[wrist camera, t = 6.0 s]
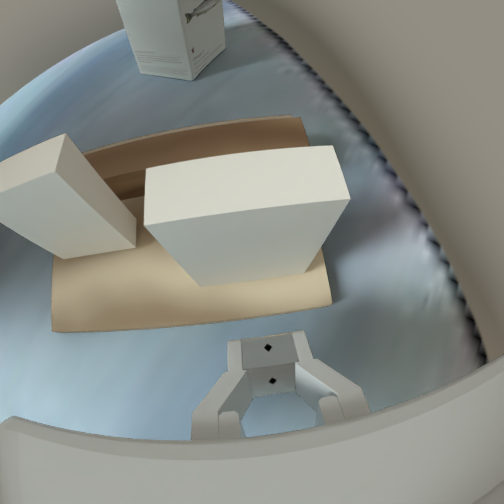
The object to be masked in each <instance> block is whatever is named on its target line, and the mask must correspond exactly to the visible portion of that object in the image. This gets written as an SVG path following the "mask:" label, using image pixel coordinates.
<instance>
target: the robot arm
mask: <svg viewBox="0 0 504 504" xmlns="http://www.w3.org/2000/svg"><path fill="white" fill-rule="evenodd" d="M227 349H228V372H224V373H223V375H222V376H221V377H220V378H219V380H218V381H217V382H216V384H215V385H214V386H213V387H212V389H211V390H210V391H209V393H208V394H207V395H206V396H205V398H204V399H203V400H202V401H201V403H200V404H199V405H198V406H197V408H196V409H195V410H194V411H193V413H192V429H191V440H190V441H177V440H148V439H133V438H122V437H113V436H105V435H98V434H91V433H85V432H79V431H74V430H69V429H64V428H59V427H55V426H50V425H46V424H42V423H38V422H35V421H31V420H28V419H24V418H21V417H17V416H12V417H9V418H8V419H6V420H5V421H3V422H2V423H1V424H0V504H504V354H502V355H501V356H499V357H497V358H496V359H494V360H492V361H491V362H489V363H487V364H485V365H483V366H482V367H480V368H478V369H476V370H474V371H472V372H470V373H468V374H466V375H464V376H462V377H460V378H458V379H456V380H454V381H452V382H450V383H448V384H446V385H443V386H441V387H439V388H437V389H434V390H432V391H430V392H427V393H425V394H422V395H420V396H417V397H415V398H412V399H409V400H407V401H404V402H401V403H399V404H396V405H393V406H390V407H387V408H384V409H381V410H378V411H375V412H371V411H370V408H369V406H368V403H367V401H366V398H365V396H364V394H363V391H362V389H361V387H359V386H358V385H356V384H355V383H353V382H352V381H350V380H349V379H347V378H346V377H344V376H343V375H341V374H340V373H338V372H337V371H335V370H334V369H332V368H331V367H329V366H328V365H326V364H325V363H323V362H322V361H320V360H319V359H314V358H313V355H312V352H311V349H310V346H309V343H308V340H307V337H306V334H305V331H304V330H300V331H294V332H291V333H290V332H289V333H283V334H277V335H270V336H264V337H256V338H246V339H239V340H228V343H227ZM293 391H295V392H296V393H297V394H298V395H299V396H300V397H301V398H302V399H303V400H304V401H305V402H306V403H307V404H309V405H310V406H311V407H312V408H313V409H314V410H315V411H316V412H317V417H316V424H315V427H312V428H307V429H302V430H296V431H291V432H284V433H278V434H271V435H263V436H255V437H246V436H245V433H244V430H243V426H242V423H241V419H242V418H243V416H244V414H245V412H246V410H247V409H248V407H249V405H250V403H251V401H252V399H253V397H259V396H266V395H272V394H279V393H287V392H293Z"/></svg>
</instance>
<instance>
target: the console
mask: <svg viewBox="0 0 504 504" xmlns="http://www.w3.org/2000/svg"><path fill="white" fill-rule="evenodd" d="M296 147H310V145H309V142H308V138H307V135H306V132H305V129H304V126H303V123H302V120H301V117H299V118H293V117H292V115H279V116H266V117H255V118H246V119H237V120H229V121H221V122H214V123H207V124H201V125H195V126H189V127H184V128H178V129H173V130H168V131H163V132H158V133H154V134H149V135H145V136H141V137H136V138H132V139H128V140H124V141H121V142H117V143H113V144H110V145H106V146H103V147H99V148H96V149H92V150H89V151H86V152H83V153H82V154H83V156H84V157H85V158H86V159H87V161H88V162H89V163H90V164H91V166H92V167H93V168H94V169H95V171H96V172H97V173H98V174H99V176H100V177H101V178H102V179H103V180H104V182H105V183H106V184H107V185H108V186H109V188H110V189H111V190H112V191H113V192H114V194H115V195H116V196H117V197H118V198H119V199H120V201H121V202H122V203H123V204H124V205H125V206H126V208H127V209H128V210H129V211H130V212H131V213H132V215H133V216H134V217H135V218H136V219H137V222H136V248H131V249H125V250H118V251H112V252H106V253H99V254H93V255H87V256H81V257H75V258H69V259H62V258H60V257H58V256H56V255H55V254H54V256H53V271H52V299H51V313H52V332H59V333H81V332H109V331H129V330H145V329H158V328H171V327H182V326H193V325H202V324H212V323H221V322H229V321H237V320H245V319H252V318H260V317H267V316H274V315H280V314H287V313H293V312H299V311H306V310H311V309H317V308H323V307H328V306H330V305H332V304H333V303H332V298H331V292H330V287H329V282H328V277H327V272H326V267H325V262H324V257H323V252H322V248H320V249H319V251H318V252H317V254H316V256H315V257H314V259H313V260H312V262H311V263H310V265H309V266H308V268H307V269H306V271H305V273H303V274H296V275H289V276H282V277H275V278H268V279H261V280H254V281H246V282H239V283H231V284H223V285H215V286H207V287H200V286H199V285H198V284H197V283H196V282H195V281H194V280H193V279H192V278H191V277H190V276H189V274H188V273H187V272H186V271H185V270H184V269H183V268H182V267H181V266H180V265H179V264H178V263H177V262H176V261H175V260H174V258H173V257H172V256H171V255H170V254H169V253H168V252H167V251H166V250H165V249H164V247H163V246H162V245H161V244H160V243H159V242H158V241H157V240H156V239H155V237H154V236H153V235H152V234H151V233H150V232H149V231H148V230H147V228H146V227H145V226H144V201H145V179H146V169H147V168H151V167H156V166H161V165H166V164H172V163H177V162H183V161H189V160H195V159H201V158H207V157H214V156H221V155H228V154H236V153H244V152H253V151H262V150H272V149H283V148H296Z"/></svg>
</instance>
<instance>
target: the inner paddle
mask: <svg viewBox="0 0 504 504" xmlns="http://www.w3.org/2000/svg"><path fill="white" fill-rule="evenodd" d="M136 222H137V219H136V218H135V217H134V216H133V215H132V213H131V212H130V211H129V210H128V209H127V208H126V206H125V205H124V204H123V203H122V202H121V201H120V199H119V198H118V197H117V196H116V195H115V194H114V192H113V191H112V190H111V189H110V188H109V186H108V185H107V184H106V183H105V182H104V180H103V179H102V178H101V177H100V176H99V174H98V173H97V172H96V171H95V169H94V168H93V167H92V166H91V164H90V163H89V162H88V161H87V159H86V158H85V157H84V156H83V154H82V153H81V152H80V151H79V149H78V148H77V147H76V145H75V144H74V143H73V142H72V140H71V139H70V138H69V136H68V135H67V134H66V133H65V134H62V135H59V136H57V137H54V138H52V139H49V140H47V141H45V142H42V143H40V144H38V145H35V146H33V147H31V148H29V149H27V150H24V151H22V152H20V153H18V154H16V155H14V156H12V157H10V158H8V159H6V160H4V161H2V162H0V223H2V224H4V225H5V226H7V227H8V228H10V229H12V230H13V231H15V232H16V233H18V234H20V235H21V236H23V237H25V238H26V239H28V240H30V241H32V242H33V243H35V244H37V245H38V246H40V247H42V248H44V249H46V250H47V251H49V252H51V253H53V254H55V255H56V256H58V257H60V258H62V259H69V258H75V257H81V256H87V255H93V254H99V253H106V252H112V251H118V250H125V249H131V248H136Z"/></svg>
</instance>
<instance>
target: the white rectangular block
mask: <svg viewBox="0 0 504 504" xmlns="http://www.w3.org/2000/svg"><path fill="white" fill-rule="evenodd" d="M350 199H351V198H350V195H349V192H348V189H347V186H346V183H345V179H344V176H343V173H342V170H341V167H340V164H339V162H338V159H337V156H336V153H335V150H334V147H333V145H330V146H311V147H296V148H283V149H272V150H262V151H253V152H244V153H236V154H228V155H221V156H214V157H207V158H201V159H195V160H189V161H183V162H177V163H172V164H166V165H161V166H156V167H151V168H147V169H146V179H145V201H144V226H145V227H146V228H147V230H148V231H149V232H150V233H151V234H152V235H153V236H154V237H155V239H156V240H157V241H158V242H159V243H160V244H161V245H162V246H163V247H164V249H165V250H166V251H167V252H168V253H169V254H170V255H171V256H172V257H173V258H174V260H175V261H176V262H177V263H178V264H179V265H180V266H181V267H182V268H183V269H184V270H185V271H186V272H187V273H188V274H189V276H190V277H191V278H192V279H193V280H194V281H195V282H196V283H197V284H198V285H199V286H200V287H207V286H215V285H223V284H231V283H239V282H246V281H254V280H261V279H268V278H275V277H282V276H289V275H296V274H303V273H305V271H306V269H307V268H308V266H309V265H310V263H311V262H312V260H313V259H314V257H315V256H316V254H317V252H318V251H319V249H320V248H321V246H322V245H323V243H324V241H325V240H326V238H327V237H328V235H329V233H330V232H331V230H332V229H333V227H334V225H335V224H336V222H337V220H338V219H339V217H340V216H341V214H342V212H343V211H344V209H345V207H346V206H347V204H348V202H349V201H350Z"/></svg>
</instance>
